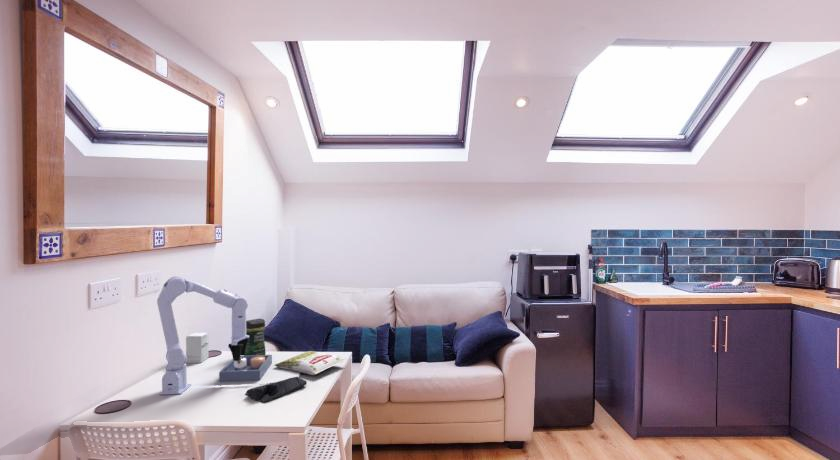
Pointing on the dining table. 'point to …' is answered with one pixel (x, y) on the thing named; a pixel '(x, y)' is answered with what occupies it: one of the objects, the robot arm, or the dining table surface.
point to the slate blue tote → (245, 375)
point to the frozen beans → (310, 362)
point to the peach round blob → (257, 362)
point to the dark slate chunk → (275, 389)
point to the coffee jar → (255, 337)
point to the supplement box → (196, 347)
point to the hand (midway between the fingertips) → (239, 357)
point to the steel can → (240, 364)
